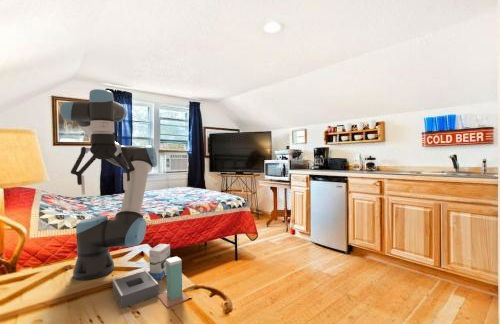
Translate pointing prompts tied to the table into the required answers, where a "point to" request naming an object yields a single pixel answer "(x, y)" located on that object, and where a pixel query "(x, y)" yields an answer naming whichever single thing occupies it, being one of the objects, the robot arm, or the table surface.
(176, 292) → the teal tall block
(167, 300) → the mat
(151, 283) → the grey socket base
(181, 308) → the table surface
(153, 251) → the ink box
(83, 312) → the table surface
